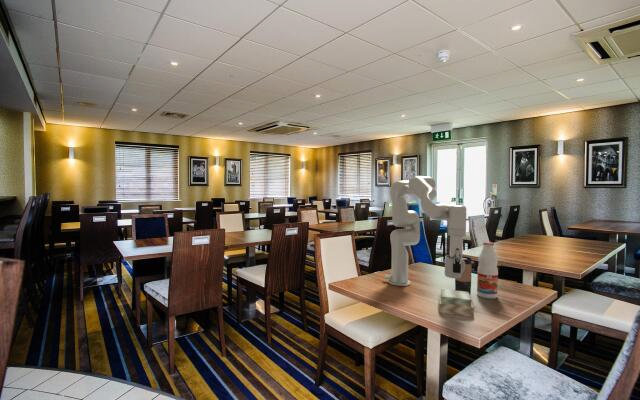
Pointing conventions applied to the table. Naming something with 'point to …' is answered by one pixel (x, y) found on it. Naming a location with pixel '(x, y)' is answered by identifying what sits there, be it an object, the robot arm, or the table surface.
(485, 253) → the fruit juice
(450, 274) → the cup
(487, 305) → the table surface
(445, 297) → the camouflage patterned box
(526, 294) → the table surface
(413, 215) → the robot arm
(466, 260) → the travel mug
